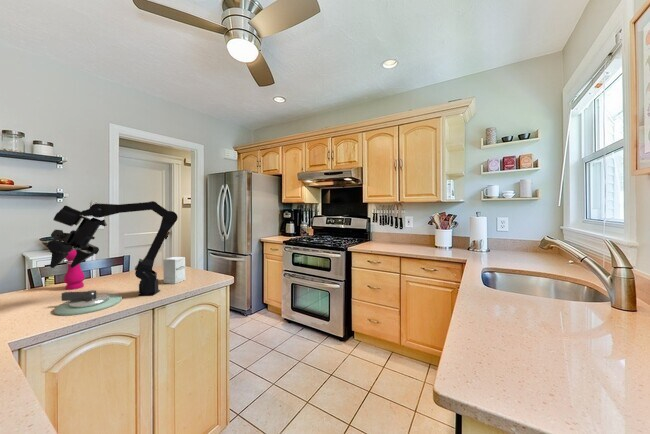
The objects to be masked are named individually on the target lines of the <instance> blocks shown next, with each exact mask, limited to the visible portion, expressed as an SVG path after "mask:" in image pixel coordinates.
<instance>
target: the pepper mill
mask: <svg viewBox="0 0 650 434" xmlns="http://www.w3.org/2000/svg"><path fill="white" fill-rule="evenodd" d="M68 254H69V255H68V256H67V257H65V258H64V259H66V264H67V271H66V273H65V276H64V277H63V282H64V283H65V284H66V285H65V290H68V291H72V290H78V289H82V288H83V287H84V286H85V283H84V282H83V281H85V279H86V278H85V274H84V272H83V271H82V269H81V263H80V264H78V265H77V266H75V267H74V268H72V267H70V266H71V264H72V262H73V260H74V258H75V256H76V254H77V253H76V250H71V251H70V252H68Z"/></svg>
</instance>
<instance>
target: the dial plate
mask: <svg viewBox="0 0 650 434" xmlns="http://www.w3.org/2000/svg"><path fill="white" fill-rule="evenodd" d="M106 294H107V295H109V300H108V301H106V302H103V303H101V304H97V305H93V306H88V307H80V308H72V307H69V302H70V301H63V302H62V303H60V304H58V305H57V306H55V307H54V308H53V314H55V315H57V316H63V317H64V316H78V315H84V314H85V315H86V314H91V313H95V312H99V311H102V310H105V309H109V308H112V307H114V306H116V305H117V304H120V303H121V302H122V298H123V297H122V295H120V294H116V293H106Z"/></svg>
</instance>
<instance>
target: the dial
mask: <svg viewBox="0 0 650 434" xmlns="http://www.w3.org/2000/svg"><path fill="white" fill-rule="evenodd" d="M107 294H108V293H103V294H102V293H101V294H100V293H98V294H97V290H94V289H93V290H92V289H91V290H85V291H64V292H62V293H61V302H68V301H70V302H69V307H72V308H80V307H88V306H93V305H97V304H101V303H103V302H106V301H108V300H109V295H107Z"/></svg>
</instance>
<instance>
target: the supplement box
mask: <svg viewBox="0 0 650 434" xmlns="http://www.w3.org/2000/svg"><path fill="white" fill-rule="evenodd" d="M162 261H163V271H162V272H163V274H162V275H163V276H162V277H163V283H164V284H171V285H176V284H178V283H181V282H184V281H186V257H185V256H172V257H167V258H164V259H163V260H162ZM183 280H184V281H183Z"/></svg>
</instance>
